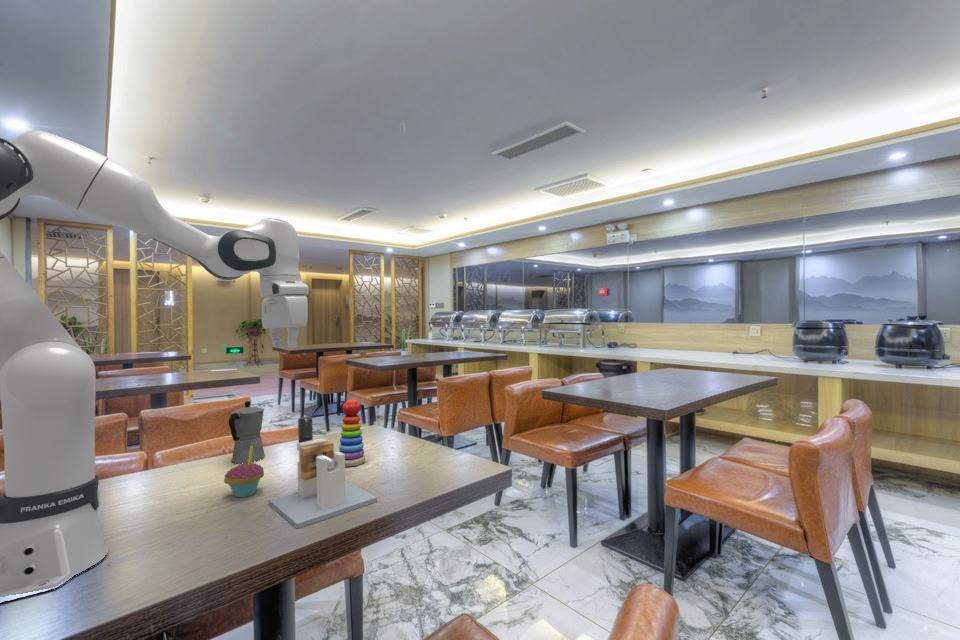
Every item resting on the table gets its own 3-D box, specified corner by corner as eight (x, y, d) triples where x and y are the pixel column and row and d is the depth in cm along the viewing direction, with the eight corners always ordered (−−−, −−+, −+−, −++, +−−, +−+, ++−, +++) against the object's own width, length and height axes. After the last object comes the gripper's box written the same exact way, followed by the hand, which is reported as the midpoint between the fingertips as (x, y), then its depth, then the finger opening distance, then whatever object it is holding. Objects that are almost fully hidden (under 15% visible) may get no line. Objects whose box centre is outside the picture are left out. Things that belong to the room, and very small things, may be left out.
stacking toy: (357, 468, 122) (355, 402, 122) (331, 467, 124) (330, 401, 124) (370, 459, 130) (368, 397, 130) (345, 458, 131) (344, 397, 132)
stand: (297, 528, 86) (295, 463, 86) (269, 504, 98) (267, 447, 98) (377, 501, 98) (375, 444, 98) (343, 483, 111) (342, 432, 111)
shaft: (325, 471, 93) (324, 429, 93) (296, 455, 105) (296, 418, 105) (339, 467, 96) (338, 426, 96) (309, 452, 108) (309, 416, 108)
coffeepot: (246, 453, 140) (245, 397, 140) (274, 452, 139) (273, 397, 140) (215, 469, 124) (213, 407, 125) (246, 468, 124) (245, 406, 124)
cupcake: (253, 484, 111) (252, 438, 111) (271, 491, 106) (270, 442, 106) (218, 495, 104) (217, 446, 104) (235, 503, 99) (234, 451, 99)
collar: (304, 480, 97) (303, 449, 97) (300, 478, 99) (300, 447, 99) (334, 472, 102) (333, 442, 102) (330, 470, 103) (329, 441, 104)
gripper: (253, 292, 107) (256, 347, 107) (282, 285, 92) (286, 349, 93) (279, 292, 112) (282, 345, 112) (311, 285, 97) (315, 347, 97)
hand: (284, 347), depth 102 cm, fingers open, 8 cm apart
